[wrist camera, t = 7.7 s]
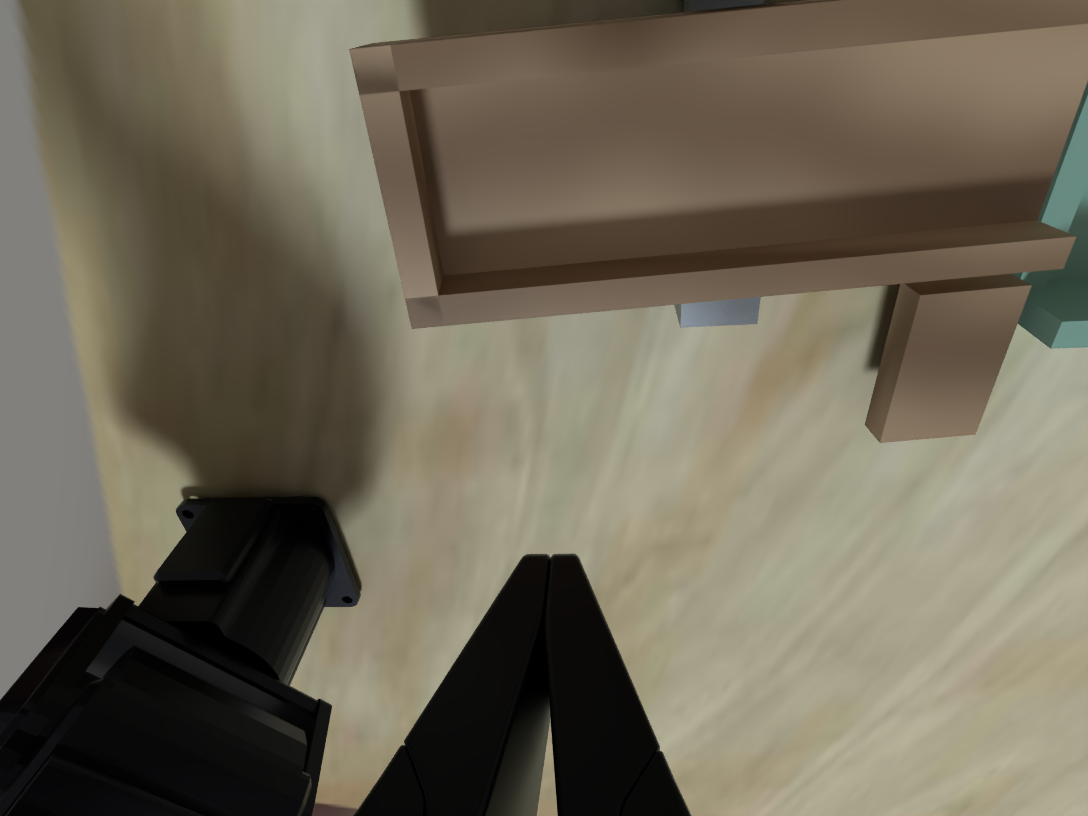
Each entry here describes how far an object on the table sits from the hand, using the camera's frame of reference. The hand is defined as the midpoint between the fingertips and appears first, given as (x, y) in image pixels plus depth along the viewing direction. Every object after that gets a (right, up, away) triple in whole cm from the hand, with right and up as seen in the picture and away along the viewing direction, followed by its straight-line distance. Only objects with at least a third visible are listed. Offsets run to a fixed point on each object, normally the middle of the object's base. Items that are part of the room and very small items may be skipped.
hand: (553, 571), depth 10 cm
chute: (+5, +6, +7) cm, 11 cm away
